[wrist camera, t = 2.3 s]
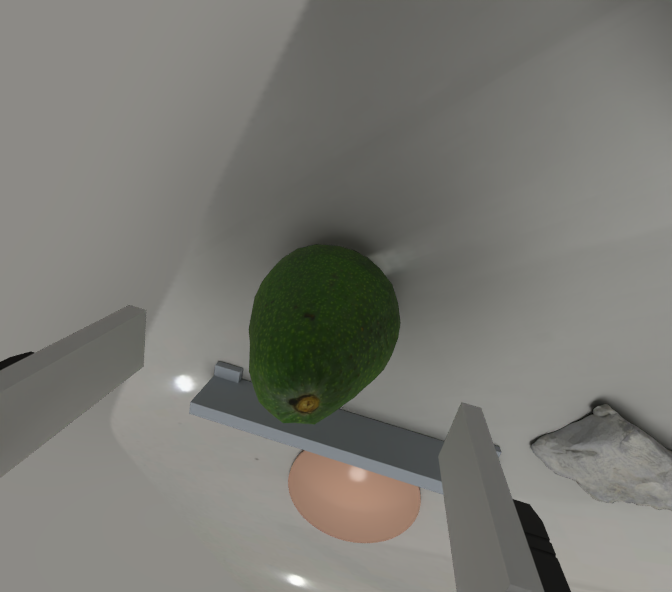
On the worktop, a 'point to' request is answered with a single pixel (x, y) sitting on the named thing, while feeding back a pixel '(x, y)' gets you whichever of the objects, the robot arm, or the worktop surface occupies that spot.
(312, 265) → the fruit
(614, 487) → the stone
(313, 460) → the saucer
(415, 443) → the acrylic wall
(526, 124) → the worktop surface
